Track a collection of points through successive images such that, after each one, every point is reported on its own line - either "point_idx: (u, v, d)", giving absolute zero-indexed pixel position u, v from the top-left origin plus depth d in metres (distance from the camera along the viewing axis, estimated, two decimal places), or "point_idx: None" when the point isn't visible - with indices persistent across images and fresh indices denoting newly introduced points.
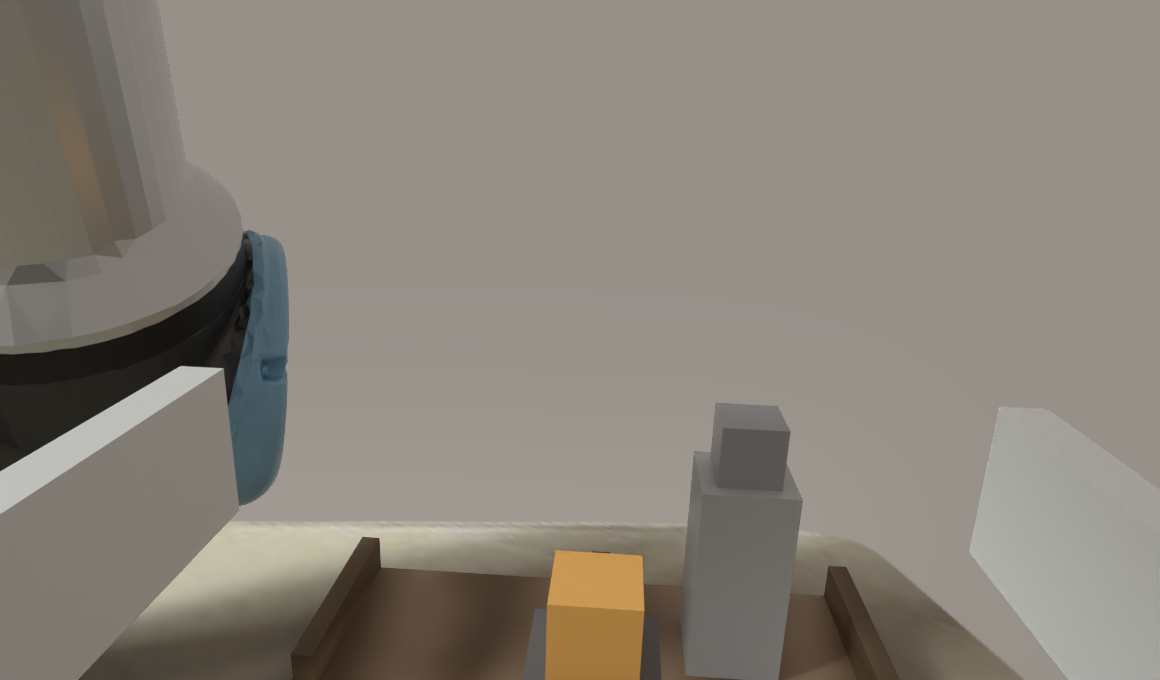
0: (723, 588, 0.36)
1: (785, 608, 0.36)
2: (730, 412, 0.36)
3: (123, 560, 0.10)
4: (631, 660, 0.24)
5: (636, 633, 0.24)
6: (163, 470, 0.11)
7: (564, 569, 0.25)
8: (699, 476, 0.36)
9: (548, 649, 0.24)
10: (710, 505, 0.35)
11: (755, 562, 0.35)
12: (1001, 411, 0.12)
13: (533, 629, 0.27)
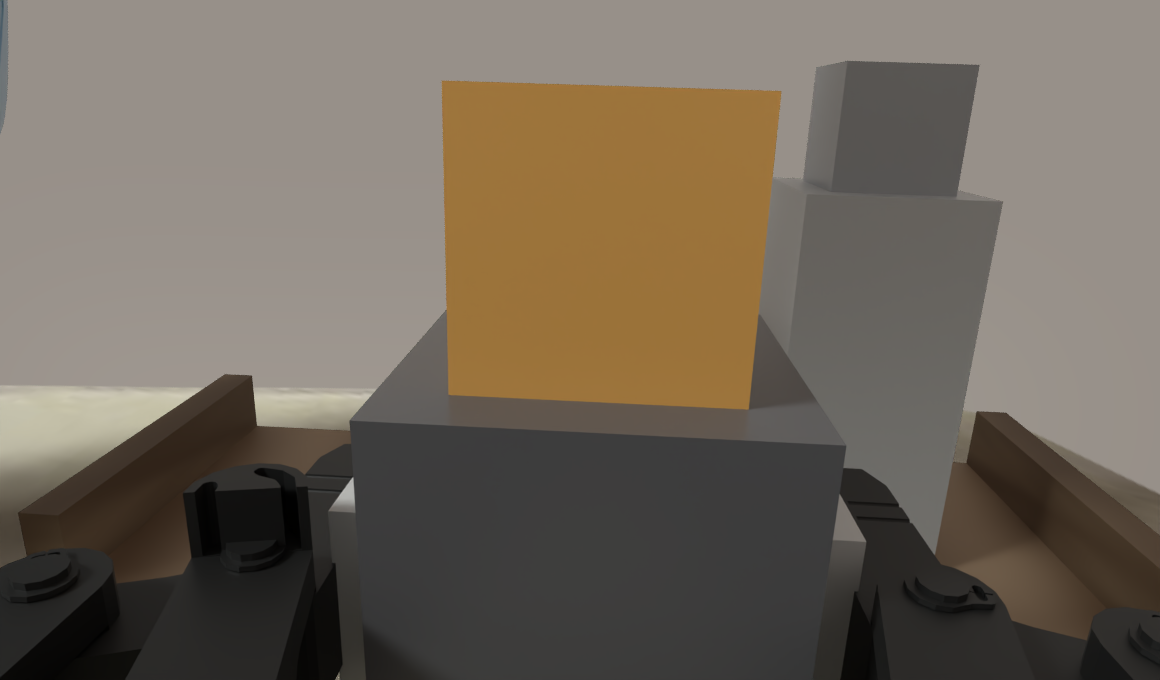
0: (839, 391, 0.19)
1: (954, 430, 0.19)
2: None
3: None
4: (728, 296, 0.07)
5: (750, 189, 0.07)
6: None
7: None
8: (791, 187, 0.20)
9: (454, 263, 0.07)
10: (821, 218, 0.18)
11: (903, 335, 0.19)
12: None
13: (441, 323, 0.10)
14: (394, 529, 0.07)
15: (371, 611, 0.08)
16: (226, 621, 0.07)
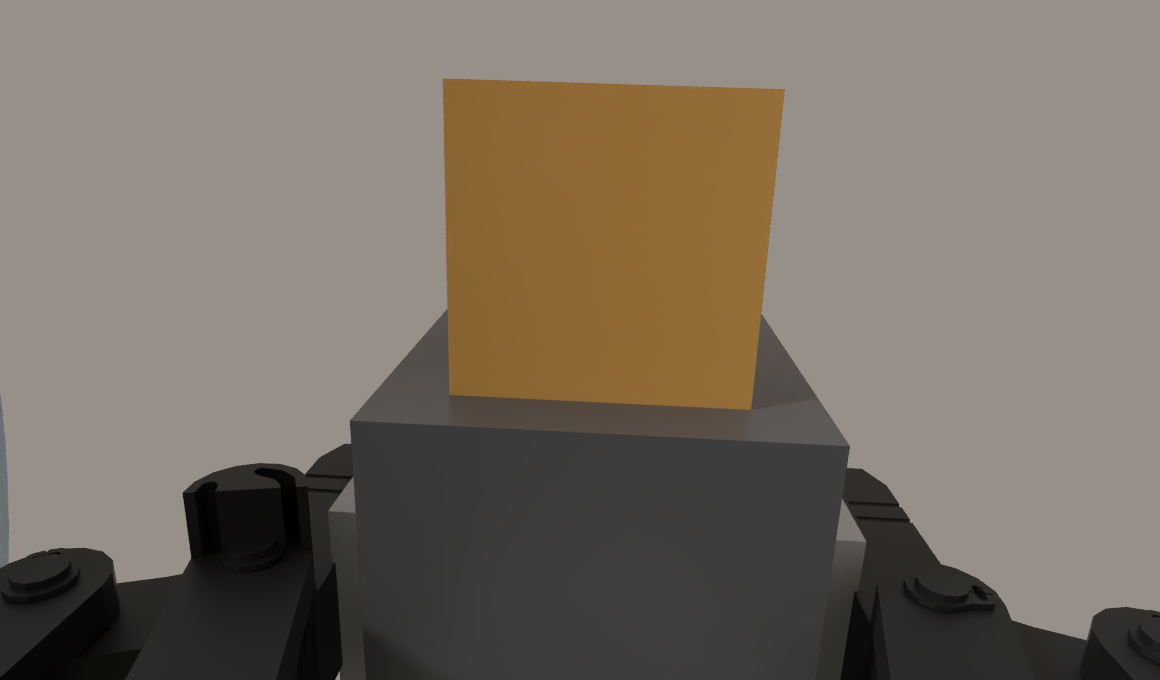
0: None
1: None
2: None
3: None
4: (731, 296, 0.07)
5: (752, 188, 0.07)
6: None
7: None
8: None
9: (455, 262, 0.07)
10: None
11: None
12: None
13: (441, 322, 0.10)
14: (394, 530, 0.07)
15: (372, 612, 0.08)
16: (226, 621, 0.07)
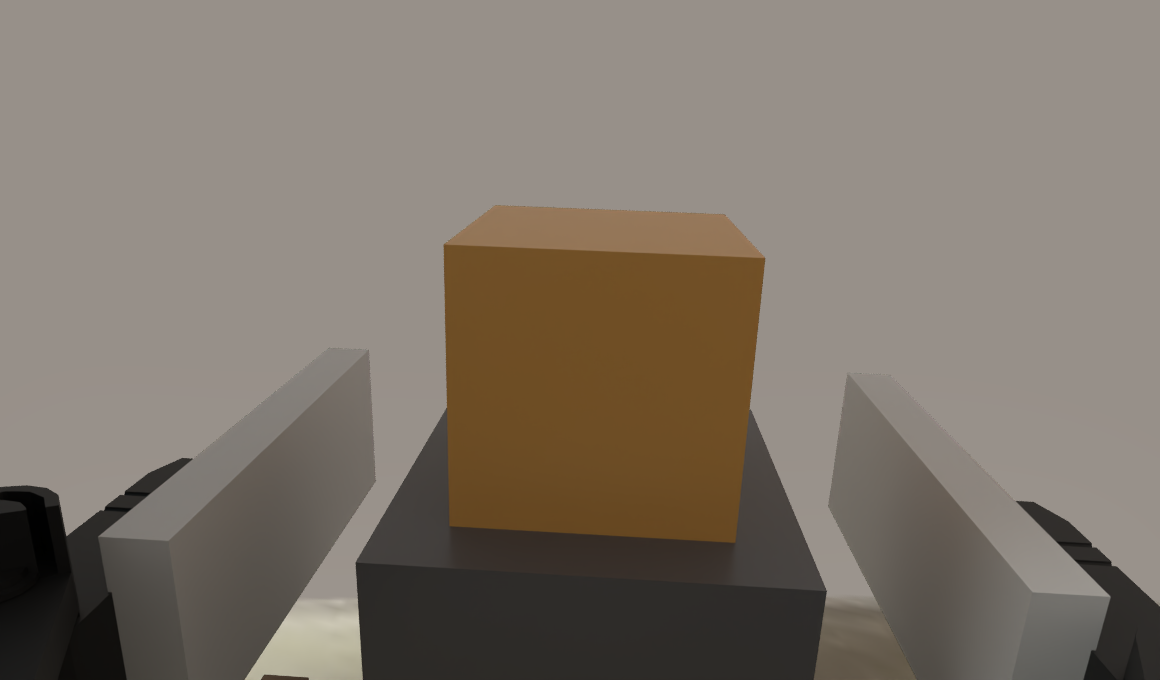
0: None
1: None
2: None
3: (309, 518, 0.12)
4: (716, 440, 0.08)
5: (736, 345, 0.07)
6: (333, 439, 0.12)
7: (513, 218, 0.09)
8: None
9: (454, 408, 0.08)
10: None
11: None
12: (848, 376, 0.14)
13: (442, 425, 0.11)
14: (397, 660, 0.08)
15: None
16: None
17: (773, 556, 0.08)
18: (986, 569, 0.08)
